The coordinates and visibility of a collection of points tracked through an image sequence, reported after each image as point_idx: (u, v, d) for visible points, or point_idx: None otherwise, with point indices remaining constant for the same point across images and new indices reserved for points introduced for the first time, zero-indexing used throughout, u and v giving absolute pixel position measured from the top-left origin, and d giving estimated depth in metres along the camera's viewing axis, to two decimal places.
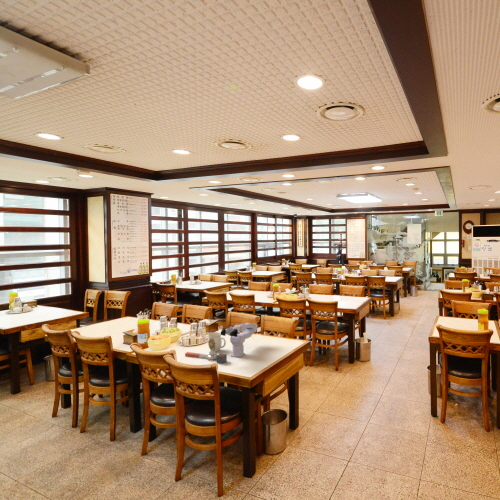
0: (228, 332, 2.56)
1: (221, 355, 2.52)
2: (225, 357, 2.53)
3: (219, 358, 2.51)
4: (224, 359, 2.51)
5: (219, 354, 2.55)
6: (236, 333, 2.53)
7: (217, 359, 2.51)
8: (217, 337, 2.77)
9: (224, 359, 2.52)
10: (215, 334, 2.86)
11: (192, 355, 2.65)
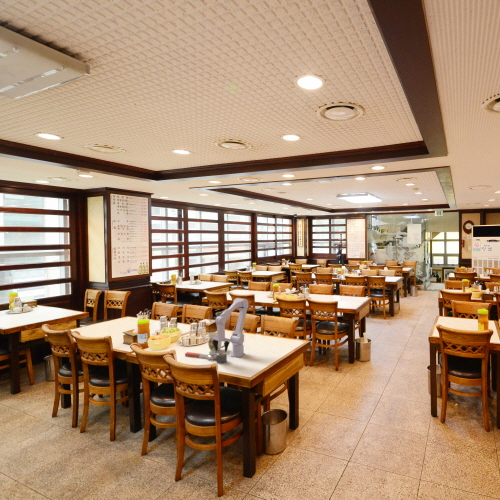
0: None
1: (221, 355, 2.52)
2: (225, 357, 2.53)
3: (219, 358, 2.51)
4: (224, 359, 2.51)
5: (219, 354, 2.55)
6: (228, 343, 2.51)
7: (217, 359, 2.51)
8: None
9: (224, 359, 2.52)
10: (215, 334, 2.86)
11: (192, 355, 2.65)
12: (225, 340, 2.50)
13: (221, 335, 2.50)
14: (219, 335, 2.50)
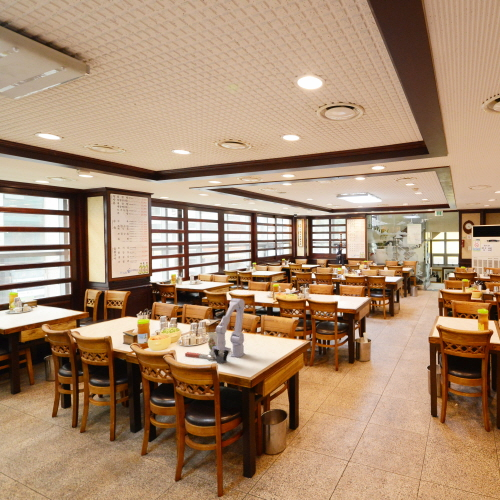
0: (219, 349, 2.54)
1: (221, 355, 2.52)
2: None
3: (219, 358, 2.51)
4: None
5: (219, 354, 2.55)
6: (227, 351, 2.51)
7: (217, 359, 2.51)
8: None
9: None
10: (215, 334, 2.86)
11: (192, 355, 2.65)
12: (225, 349, 2.50)
13: (221, 344, 2.50)
14: (219, 344, 2.50)
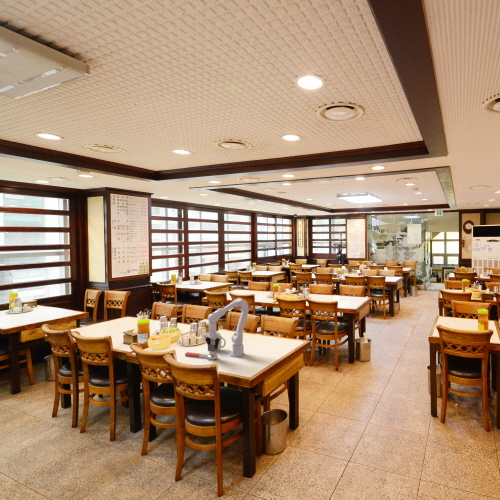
0: (211, 337, 2.60)
1: (212, 343, 2.59)
2: None
3: (210, 346, 2.57)
4: None
5: (210, 343, 2.61)
6: (218, 340, 2.58)
7: (208, 347, 2.58)
8: None
9: None
10: None
11: (192, 355, 2.65)
12: (216, 337, 2.56)
13: (212, 332, 2.57)
14: (211, 332, 2.57)
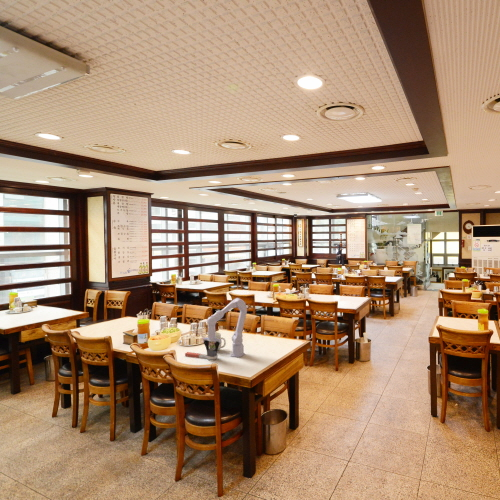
0: None
1: (211, 349, 2.60)
2: (215, 351, 2.60)
3: (209, 352, 2.58)
4: (214, 353, 2.59)
5: (210, 348, 2.62)
6: (218, 343, 2.59)
7: (207, 353, 2.59)
8: (217, 337, 2.77)
9: (215, 353, 2.59)
10: None
11: (192, 355, 2.65)
12: (215, 340, 2.57)
13: (212, 335, 2.58)
14: (210, 335, 2.58)
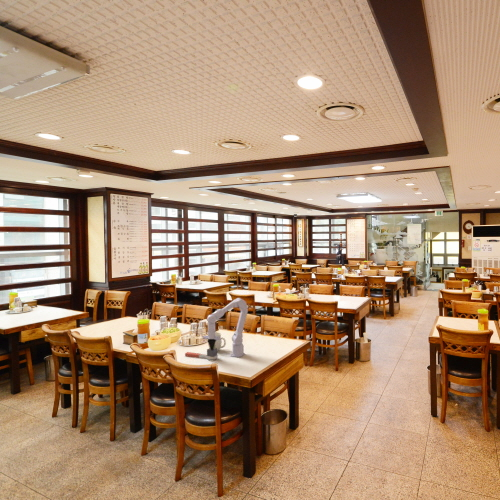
0: None
1: (211, 349, 2.60)
2: (215, 351, 2.60)
3: (209, 352, 2.58)
4: (214, 353, 2.59)
5: (210, 348, 2.62)
6: (214, 340, 2.60)
7: (208, 353, 2.59)
8: None
9: (215, 353, 2.59)
10: None
11: (192, 355, 2.65)
12: (215, 338, 2.57)
13: (212, 333, 2.58)
14: (210, 333, 2.58)
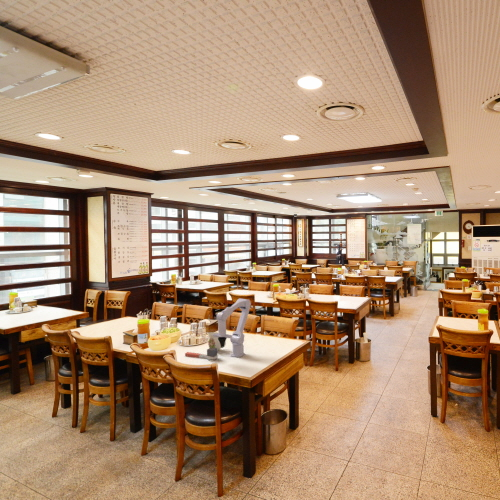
0: None
1: (211, 349, 2.60)
2: (215, 351, 2.60)
3: (209, 352, 2.58)
4: (214, 353, 2.59)
5: (210, 348, 2.62)
6: (225, 338, 2.54)
7: (208, 353, 2.59)
8: (217, 337, 2.77)
9: (215, 353, 2.59)
10: None
11: (192, 355, 2.65)
12: (226, 336, 2.51)
13: (222, 331, 2.52)
14: (220, 331, 2.52)
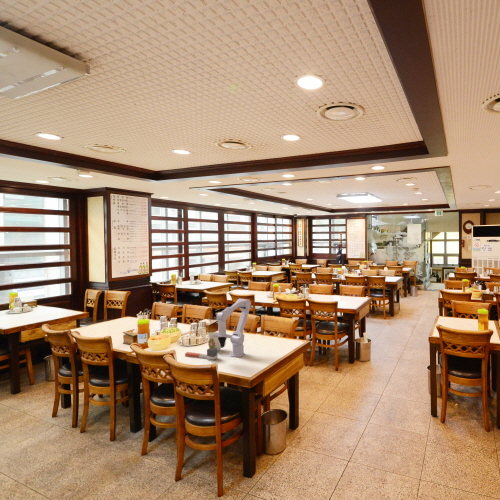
0: None
1: (211, 349, 2.60)
2: (215, 351, 2.60)
3: (209, 352, 2.58)
4: (214, 353, 2.59)
5: (210, 348, 2.62)
6: (225, 338, 2.54)
7: (208, 353, 2.59)
8: (217, 337, 2.77)
9: (215, 353, 2.59)
10: None
11: (192, 355, 2.65)
12: (226, 336, 2.51)
13: (222, 331, 2.52)
14: (220, 331, 2.52)
